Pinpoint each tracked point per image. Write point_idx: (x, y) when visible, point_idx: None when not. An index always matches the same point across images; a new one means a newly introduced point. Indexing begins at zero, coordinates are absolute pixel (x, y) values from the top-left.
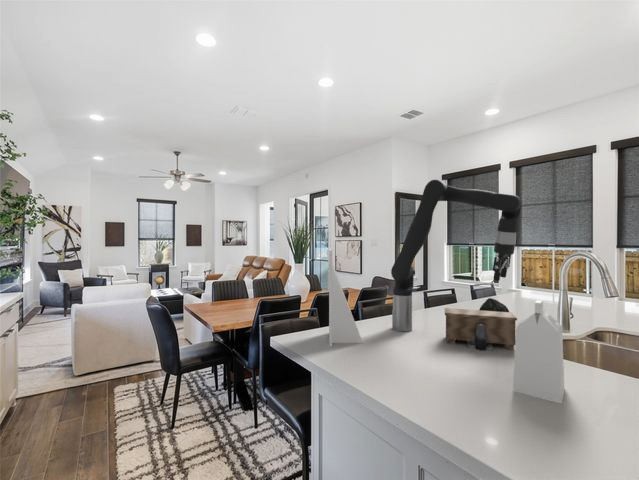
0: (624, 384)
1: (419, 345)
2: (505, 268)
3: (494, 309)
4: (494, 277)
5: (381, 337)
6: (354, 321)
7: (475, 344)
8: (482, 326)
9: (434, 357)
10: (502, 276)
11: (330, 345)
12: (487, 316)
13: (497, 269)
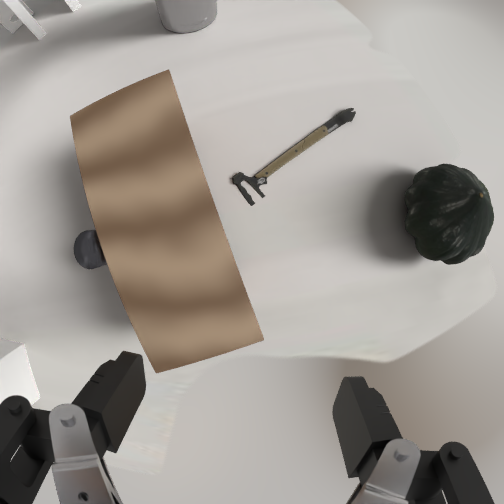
0: (123, 463)
1: (66, 112)
2: (360, 478)
3: (435, 222)
4: (98, 372)
5: (88, 29)
6: (15, 13)
7: None
8: (78, 260)
9: (15, 181)
10: (339, 395)
11: (11, 32)
12: (111, 270)
13: (22, 444)
